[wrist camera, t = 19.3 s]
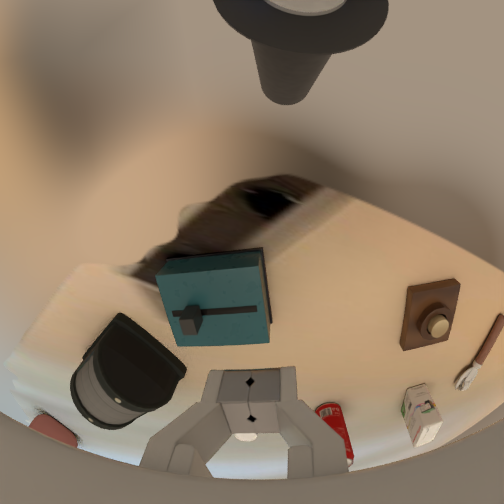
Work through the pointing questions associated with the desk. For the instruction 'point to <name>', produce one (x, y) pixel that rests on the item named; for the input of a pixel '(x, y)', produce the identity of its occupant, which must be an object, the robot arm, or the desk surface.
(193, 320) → the slider
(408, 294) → the control block
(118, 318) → the roll top bread box
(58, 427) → the alarm clock
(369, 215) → the desk surface
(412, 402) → the ink box
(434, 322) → the button
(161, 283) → the block
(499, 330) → the manual can opener
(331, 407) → the beverage can
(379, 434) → the desk surface
